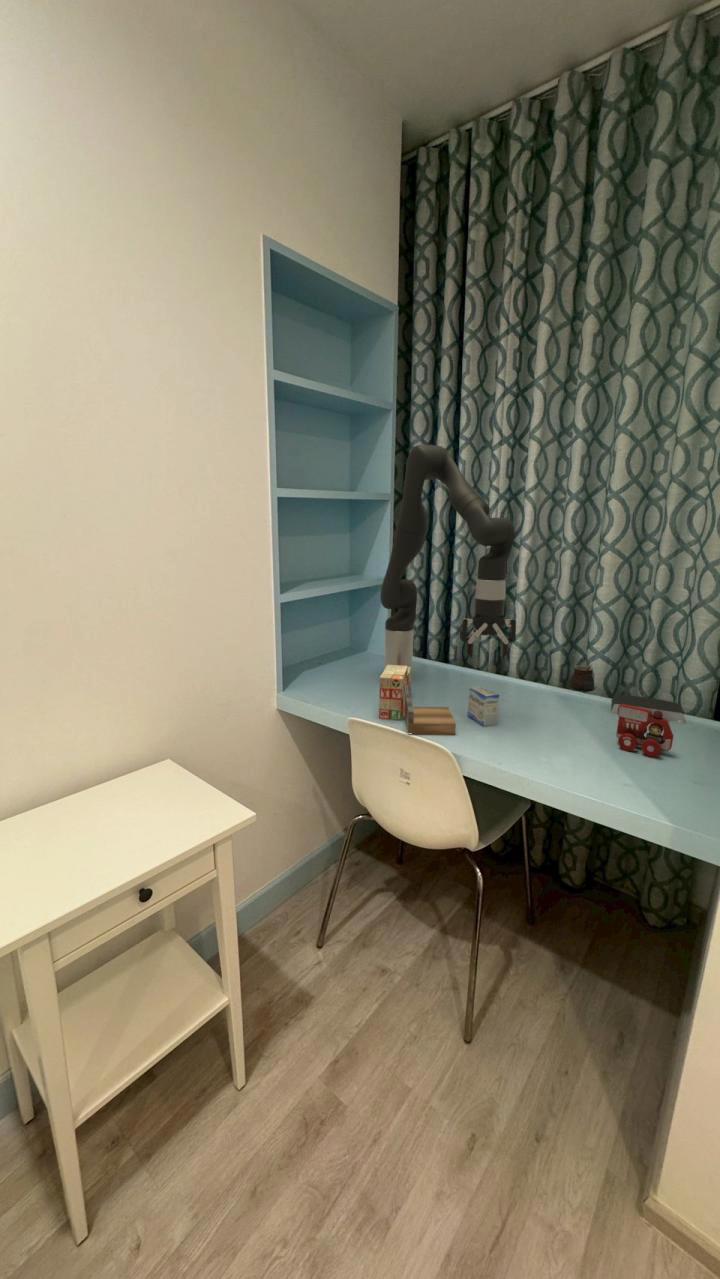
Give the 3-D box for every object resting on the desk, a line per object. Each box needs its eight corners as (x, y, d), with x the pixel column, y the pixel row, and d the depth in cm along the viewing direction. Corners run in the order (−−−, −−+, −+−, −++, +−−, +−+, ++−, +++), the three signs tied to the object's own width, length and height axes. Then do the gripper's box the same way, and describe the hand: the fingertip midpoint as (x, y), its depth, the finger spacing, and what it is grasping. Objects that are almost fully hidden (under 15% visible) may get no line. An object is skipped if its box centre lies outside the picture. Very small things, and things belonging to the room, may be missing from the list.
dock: (404, 716, 149) (405, 696, 147) (448, 717, 149) (449, 696, 147) (408, 734, 137) (408, 712, 136) (455, 734, 137) (456, 712, 135)
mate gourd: (582, 687, 176) (585, 657, 173) (599, 694, 169) (602, 664, 166) (564, 689, 173) (567, 659, 171) (580, 696, 166) (583, 665, 164)
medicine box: (466, 716, 149) (468, 687, 147) (480, 714, 151) (482, 685, 149) (483, 727, 142) (485, 696, 140) (497, 724, 144) (499, 694, 142)
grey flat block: (684, 728, 143) (687, 715, 142) (609, 717, 151) (611, 704, 150) (680, 713, 154) (682, 701, 153) (610, 703, 162) (611, 691, 161)
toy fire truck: (667, 761, 123) (674, 719, 121) (610, 747, 131) (615, 707, 128) (672, 751, 129) (678, 710, 126) (616, 738, 136) (621, 699, 134)
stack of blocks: (390, 694, 168) (391, 656, 165) (410, 695, 166) (412, 657, 163) (378, 719, 147) (379, 676, 144) (401, 721, 146) (402, 678, 143)
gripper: (513, 594, 142) (509, 653, 146) (460, 594, 142) (457, 653, 146) (521, 599, 135) (516, 661, 139) (465, 598, 135) (461, 660, 139)
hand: (486, 656), depth 142 cm, fingers open, 8 cm apart
